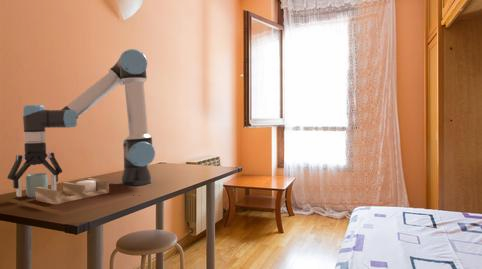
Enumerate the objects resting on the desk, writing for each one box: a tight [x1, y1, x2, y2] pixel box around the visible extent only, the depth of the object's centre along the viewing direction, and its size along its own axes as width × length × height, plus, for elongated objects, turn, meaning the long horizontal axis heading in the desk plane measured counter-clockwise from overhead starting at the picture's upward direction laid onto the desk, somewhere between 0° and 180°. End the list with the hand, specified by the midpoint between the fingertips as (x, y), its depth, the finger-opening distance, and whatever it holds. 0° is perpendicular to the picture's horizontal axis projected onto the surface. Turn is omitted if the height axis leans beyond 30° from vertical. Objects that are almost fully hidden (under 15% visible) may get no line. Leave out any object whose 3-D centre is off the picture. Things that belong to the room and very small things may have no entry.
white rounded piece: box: [75, 179, 96, 193], centre depth 136 cm, size 8×8×5 cm
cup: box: [24, 172, 49, 198], centre depth 133 cm, size 8×8×10 cm
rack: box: [35, 177, 110, 205], centre depth 131 cm, size 23×14×6 cm, turn 148°
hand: (37, 193), depth 133 cm, fingers open, 13 cm apart
